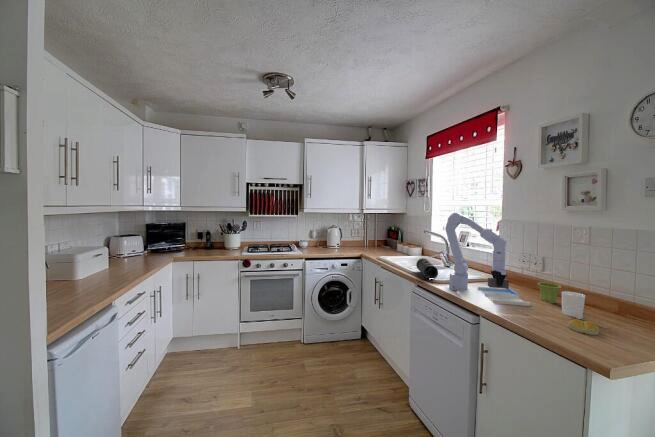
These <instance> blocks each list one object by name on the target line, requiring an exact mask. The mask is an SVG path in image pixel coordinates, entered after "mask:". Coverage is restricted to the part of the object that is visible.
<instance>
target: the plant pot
mask: <svg viewBox="0 0 655 437" xmlns="http://www.w3.org/2000/svg"><path fill="white" fill-rule="evenodd" d="M537 284H538V287H539V293H540V295H539V296H540V300H542V301H545V302H548V303H549V304H557V300H558V295H559V291H560V289H561V288H562V286H561V285H559V284H557V283H556V284H554V283H550V282H537Z"/></svg>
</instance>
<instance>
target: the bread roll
mask: <svg viewBox="0 0 655 437" xmlns="http://www.w3.org/2000/svg"><path fill="white" fill-rule="evenodd" d="M567 324H568V325H567V326H568V328H569V329H571V330H572V331H574V332H577V333H579V334H580V333H581V334H586V335H588V336H589V335H590V336H598V335H599V333H600V327H599V326H598V325H597V324H596V323H594V322H593V321H591V320H590V321H589V320H587V321H586V320H585V321H583V320H582V319H577V318H574V319H571V320H570V321H569V322H568V323H567Z"/></svg>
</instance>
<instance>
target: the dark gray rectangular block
mask: <svg viewBox="0 0 655 437" xmlns="http://www.w3.org/2000/svg"><path fill="white" fill-rule="evenodd" d="M509 283H510V280H509V279H507V278H505V279H504V281H503V284H502V287H500V286H497V283H496V278H493V277H487V287H492V288H507V289H509Z"/></svg>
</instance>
